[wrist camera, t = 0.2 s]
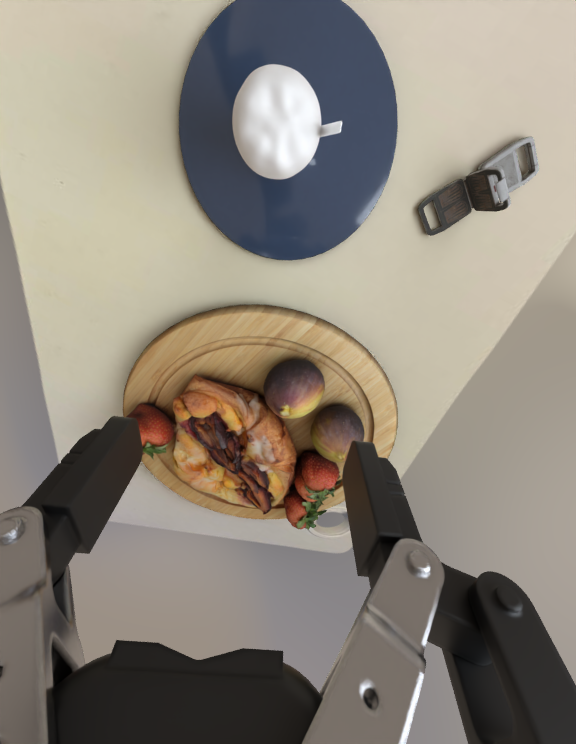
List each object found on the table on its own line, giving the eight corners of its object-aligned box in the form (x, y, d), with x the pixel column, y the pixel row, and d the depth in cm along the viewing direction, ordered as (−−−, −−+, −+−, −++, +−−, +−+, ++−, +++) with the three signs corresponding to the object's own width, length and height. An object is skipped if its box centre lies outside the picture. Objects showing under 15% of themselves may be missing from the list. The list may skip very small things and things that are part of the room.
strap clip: (526, 132, 22) (572, 120, 18) (534, 174, 23) (578, 170, 20) (414, 204, 24) (435, 206, 21) (427, 238, 26) (449, 246, 22)
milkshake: (318, 187, 23) (332, 185, 15) (250, 179, 23) (224, 171, 15) (328, 112, 21) (352, 58, 13) (252, 102, 21) (224, 40, 12)
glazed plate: (172, -32, 18) (168, -39, 18) (427, 9, 19) (431, 4, 18) (188, 247, 26) (185, 248, 26) (365, 269, 27) (366, 270, 27)
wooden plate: (105, 459, 41) (66, 516, 34) (177, 236, 26) (133, 253, 19) (307, 528, 48) (310, 586, 41) (452, 385, 33) (494, 437, 26)
